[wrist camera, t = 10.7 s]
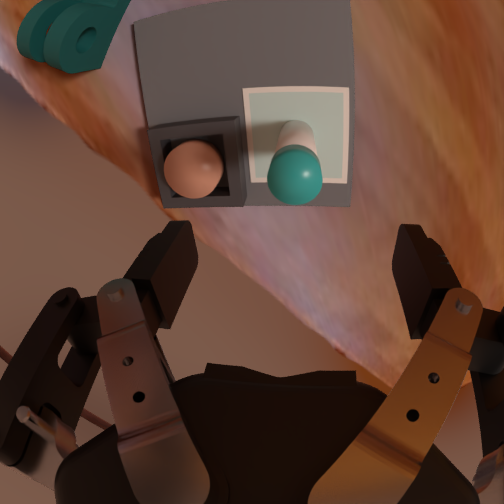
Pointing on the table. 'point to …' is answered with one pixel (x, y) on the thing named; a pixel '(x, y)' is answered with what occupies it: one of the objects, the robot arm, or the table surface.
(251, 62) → the drawing board
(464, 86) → the table surface
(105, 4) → the bracket
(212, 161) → the button
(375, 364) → the table surface
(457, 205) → the table surface
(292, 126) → the marker
